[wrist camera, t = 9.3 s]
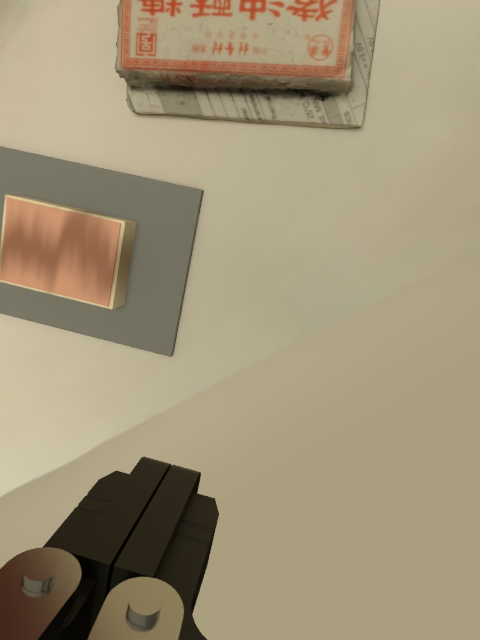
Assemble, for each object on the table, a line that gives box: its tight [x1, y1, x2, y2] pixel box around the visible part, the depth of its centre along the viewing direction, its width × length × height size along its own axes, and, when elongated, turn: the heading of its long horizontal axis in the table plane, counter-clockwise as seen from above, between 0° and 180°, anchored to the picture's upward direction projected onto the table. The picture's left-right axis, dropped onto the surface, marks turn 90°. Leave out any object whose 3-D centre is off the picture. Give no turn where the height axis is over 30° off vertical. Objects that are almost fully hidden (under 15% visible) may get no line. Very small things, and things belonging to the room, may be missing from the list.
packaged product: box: [115, 0, 380, 128], centre depth 32 cm, size 18×5×10 cm
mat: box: [0, 147, 203, 357], centre depth 39 cm, size 14×18×1 cm
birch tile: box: [0, 194, 137, 309], centre depth 37 cm, size 7×3×10 cm
